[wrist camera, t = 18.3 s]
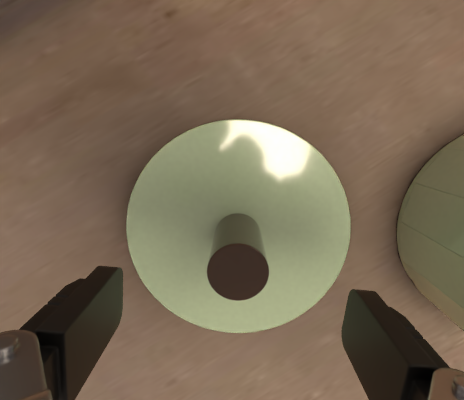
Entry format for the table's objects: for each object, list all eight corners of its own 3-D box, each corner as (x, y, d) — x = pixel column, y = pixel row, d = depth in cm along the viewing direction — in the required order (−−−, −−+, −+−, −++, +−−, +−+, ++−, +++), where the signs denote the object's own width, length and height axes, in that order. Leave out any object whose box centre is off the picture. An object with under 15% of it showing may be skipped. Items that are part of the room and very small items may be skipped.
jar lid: (93, 249, 20) (32, 301, 14) (212, 70, 18) (199, 41, 12) (258, 356, 22) (266, 442, 16) (389, 206, 19) (458, 242, 13)
